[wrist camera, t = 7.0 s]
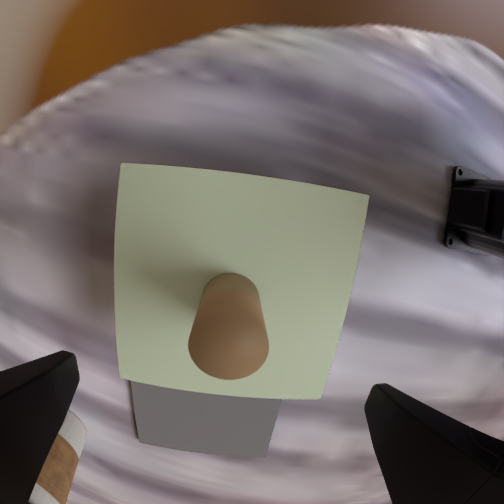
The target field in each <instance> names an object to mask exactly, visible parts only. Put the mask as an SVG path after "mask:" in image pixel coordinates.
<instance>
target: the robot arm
mask: <svg viewBox="0 0 504 504" xmlns="http://www.w3.org/2000/svg"><path fill="white" fill-rule="evenodd" d="M458 171H459V173H458ZM449 239H450V242H449ZM444 245H445V246H446V247H448V248H452V249H457V250H462V251H467V252H472V253H477V254H482V255H486V256H490V255H491V254H492V255H495V256H498V257H501V258H504V180H490V179H488V178H486V177H484V176H482V175H479V174H477V173H475V172H473V171H470V170H468V169H466V168H464V167H461V166H456V167H454V169H453V178H452V188H451V197H450V204H449V211H448V218H447V224H446V230H445V235H444ZM78 383H79V371H78V365H77V360H76V356H75V355H74V354H73V353H71V352H68V351H64V350H62V351H59V352H56V353H53V354H51V355H48V356H45V357H42V358H39V359H36V360H33V361H30V362H27V363H24V364H21V365H18V366H16V367H13V368H10V369H7V370H4V371H0V504H28V502H29V499H30V496H31V494H32V491H33V489H34V486H35V484H36V482H37V479H38V477H39V474H40V472H41V470H42V467H43V465H44V463H45V461H46V458H47V456H48V454H49V452H50V450H51V447H52V445H53V443H54V441H55V439H56V437H57V435H58V433H59V431H60V429H61V427H62V425H63V422H64V420H65V418H66V415H67V412H68V410H69V407H70V404H71V402H72V399H73V396H74V394H75V391H76V388H77V386H78ZM365 414H366V418H367V423H368V427H369V431H370V435H371V440H372V444H373V448H374V451H375V454H376V457H377V460H378V462H379V465H380V468H381V471H382V474H383V477H384V480H385V483H386V486H387V489H388V492H389V495H390V498H391V501H392V504H504V441H502V440H499V439H497V438H494V437H491V436H489V435H487V434H485V433H482V432H480V431H478V430H476V429H474V428H472V427H469V426H467V425H465V424H463V423H461V422H459V421H457V420H455V419H453V418H451V417H449V416H447V415H445V414H443V413H441V412H439V411H437V410H435V409H433V408H432V407H430V406H428V405H426V404H424V403H422V402H420V401H418V400H416V399H414V398H412V397H411V396H409V395H407V394H405V393H403V392H401V391H399V390H398V389H396V388H394V387H392V386H390V385H388V384H386V383H382V384H375V385H374V386H373V387H372V389H371V391H370V394H369V396H368V398H367V401H366V403H365Z"/></svg>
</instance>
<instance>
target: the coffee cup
mask: <svg viewBox="0 0 504 504" xmlns="http://www.w3.org/2000/svg"><path fill="white" fill-rule="evenodd" d="M86 438H87V430H86V428H85V426H84V424H83V423H82V422H81V420H80V419H79V418H78V417H77V416H76V415H75V414H74V413H72V412H71V411H70V410H68V412H67V415H66V418H65V420H64V422H63V425H62V427H61V429H60V431H59V433H58V435H57V437H56V439H55V441H54V443H53V445H52V447H51V450H50V452H49V454H48V456H47V458H46V461H45V463H44V465H43V467H42V470H41V472H40V474H39V477H38V479H37V482H36V484H35V486H34V489H33V491H32V494H31V496H30V499H29V502H28V504H66V501H67V497H68V494H69V490H70V487H71V483H72V480H73V477H74V474H75V470H76V467H77V464H78V460H79V457H80V454H81V452H82V449H83V447H84V444H85V441H86Z"/></svg>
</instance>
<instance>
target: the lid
mask: <svg viewBox="0 0 504 504" xmlns="http://www.w3.org/2000/svg"><path fill="white" fill-rule="evenodd" d="M368 202H369V195H366V194H361V193H356V192H351V191H346V190H341V189H336V188H331V187H326V186H320V185H315V184H309V183H303V182H297V181H291V180H285V179H278V178H271V177H265V176H258V175H250V174H243V173H235V172H226V171H218V170H209V169H199V168H188V167H177V166H165V165H151V164H134V163H121V168H120V176H119V185H118V196H117V208H116V222H115V243H114V306H115V327H116V341H117V353H118V363H119V372H120V378H122V379H126V380H131V381H135V382H140V383H145V384H150V385H155V386H161V387H167V388H173V389H179V390H186V391H193V392H200V393H208V394H217V395H227V396H238V397H252V398H270V399H320V398H321V395H322V392H323V389H324V386H325V383H326V380H327V377H328V374H329V371H330V367H331V364H332V361H333V358H334V354H335V351H336V347H337V344H338V341H339V337H340V333H341V330H342V326H343V322H344V318H345V315H346V311H347V307H348V303H349V299H350V294H351V290H352V286H353V281H354V277H355V272H356V268H357V263H358V258H359V253H360V248H361V243H362V237H363V232H364V226H365V220H366V214H367V208H368Z"/></svg>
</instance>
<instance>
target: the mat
mask: <svg viewBox="0 0 504 504" xmlns="http://www.w3.org/2000/svg"><path fill="white" fill-rule="evenodd" d="M131 389H132V397H133V405H134V412H135V419H136V425H137V431H138V437H139V442H140V443H145V444H149V445H154V446H159V447H165V448H171V449H177V450H183V451H190V452H198V453H206V454H216V455H228V456H244V457H265V456H266V453H267V449H268V446H269V443H270V439H271V436H272V432H273V428H274V425H275V421H276V418H277V414H278V410H279V406H280V403H281V399H270V398H252V397H238V396H227V395H217V394H208V393H200V392H193V391H186V390H179V389H173V388H167V387H161V386H155V385H150V384H145V383H140V382H135V381H131Z"/></svg>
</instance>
